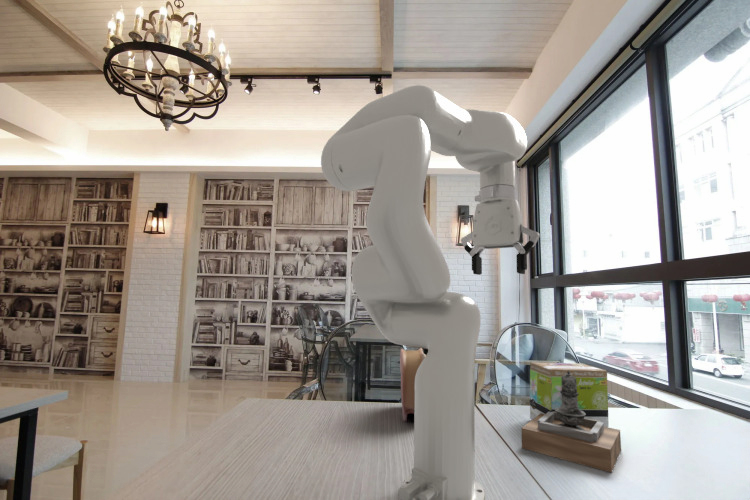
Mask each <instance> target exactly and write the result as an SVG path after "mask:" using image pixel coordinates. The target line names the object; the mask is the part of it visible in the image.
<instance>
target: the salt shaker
mask: <svg viewBox="0 0 750 500" xmlns="http://www.w3.org/2000/svg"><path fill="white" fill-rule="evenodd" d="M567 373H568V374H566V375H564V376H562V378H561V381H562V390H561V391H560V393H561V394H562V403H561V406H560V407H558V408H555V411H556V415H557V417H558V419H559V420H560V421H561V422H562V423H561V424H559V425H561V426H566V427H570V428H575V429H579V430H584V429H583V428H582V427H580V426H578V425H580V424H581V423H583V420H584V416H585V415H586V413H585V412H583V411H581V410H580V409H579V407H578V399H577V396H578V395H579V393H577V382H576V378H575V377H574V376H571V375H570V371H568V372H567ZM584 431H585V430H584Z"/></svg>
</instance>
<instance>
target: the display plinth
mask: <svg viewBox="0 0 750 500" xmlns="http://www.w3.org/2000/svg"><path fill="white" fill-rule="evenodd" d="M561 423H562V422H561V421H560V420H559V419H558V417H557V415H556V412H555V411H552V412H548V413H546V414H542V413H540V414H539V415H538V416H537V417H535V418H534V419H533V420H532V419H531V420H530V421H529V422H528V423H526V424H525V425H523V426H522V427H521V449H524V450H527V451H531V452H535V453H539V454H542V455H547V456H549V457H553V458H557V459H561V460H564V461H567V462H571V463H575V464H579V465H582V466H586V467H589V468H593V469H596V470H599V471H603V472H607V473H611V474H612V473H613V471H612V470H614V469H615V466H614V465H616V463H617V461H618V459H617V458H619V456H620V453H621V451H622V443H621V442H622V441H621V439H622V438H621V430H620V429H617V428H612V427H609V426H608V427H604V423H602V422H601V421H600V420H595V419H590V418H585V417H584V420H583V423H581V424H580V425H578V426H580V427H582V428H583V429H584V430H585V431H584V430H579V429H575V428H570V427H566V426H561V425H559V424H561Z"/></svg>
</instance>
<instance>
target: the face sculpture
mask: <svg viewBox="0 0 750 500" xmlns="http://www.w3.org/2000/svg"><path fill="white" fill-rule="evenodd" d="M426 355H427V354H425V353H424V348H420V347H419V348H418V349H417V350H405V349H404V348H401V349H400V353H399V371H400V397H401V401H400V402H401V408H402V409H401V410H402V411H401V412H402V421H403V422H404V421H405V423H406V422H408V419H407V418H408V416H409V415H412V414H413V415H414V410H415V376H416V372H417V370H418V367H419V366H420V364H421V363H422V361H423V360H424V358H425V357H426Z"/></svg>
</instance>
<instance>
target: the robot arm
mask: <svg viewBox="0 0 750 500" xmlns="http://www.w3.org/2000/svg"><path fill="white" fill-rule="evenodd" d="M527 146H528V140H527V135H526V133H525V130H524V128H523V127H522V126H521V124H520V123H519V122H518V121H517V120H516V119H515V118H514V117H512V116H511V115H509V114H508V113H505V112H500V111H493V110H491V111H490V110H480V109H467V108H466V109H464V108H461V107H460V106H458V105H456V104H455V103H454V102H452V101H450V100H449V99H447V98H446V97H445V96H443V95H441V94H440V93H439V92H437V91H435V90H434V89H432V88H431V87H428V86H425V85H420V84H417V85H410V86H408V87H404V88H402V89H399V90H396V91H394V92H392V93H390V94H387V95H384V96H382V97H380V98H377V99H375V100H371V101H370V102H369V103H367V104H365V105H364V106H363V107H361V108H360V109H359V110H358V111H357V112H356V113H355V114H354V115H353V116H352V117H351V118H350V119H348V121H346V123H345V124H344V125H342V127H340V128H339V129H338V130H336V132H335V133H334V134H332V135H331V137H330V138H329V139H328V140H327V141H326V143H325V145H324V147H323V149H322V151H321V156H320V158H321V159H320V166H321V171H322V174H323V176H324V178H325V180H326V181H327V182H328V184H330V185H331V186H332V187H333V188H335V189H337V190H339V191H342V192H343V191H344V192H354V191H359V190H360V191H361V190H364V189H370V188H372V187H373V190H372V194H371V198H370V201H369V205H368V208H367V212H366V216H365V217H366V219H365V220H366V221H365V225H366V230H367V231H366V232H367V235H368V237H369V239H370V241H371V243H372V245H369V246H366V247H364V248H363V249H361V250H360V251H359V252H358V253H357V254H356V255H355V257H354V259H353V262H352V266H351V280H352V285H353V289H354V292H355V294H356V296H357V298H358V299H359V301H360V302H361V304H362V306H363V308H364V309H365V310H366V312H367V314H368V315H369V316H370V319H372V322H373V323H374V324H375V327H377V329H378V330H379V332H380V334H381V335H383V337H384V338H385V339H386V340H388V342H390V343H393V344H395V345H401V346H405V347H414V348H419V349H420V348H422V349H425V350H428V351H427V353H426V354H425V355H426V357H425V358H424V360H423V361H422V363H421V364H420V366H419V367H418V370H417V372H416V376H415V410H414V413H413V415H414V417H413V418H414V419H413V421H414V423H413V430H414V431H413V468H411V473H410V474H408V476H407V477H405V478H404V481H403V486H401V487H400V488H398V490H397V491H398V492H397V496H398V498H399V500H486V491H485V488H484V487H483V486H482V485H481V483H479V482H478V481H477V480H476V477H475V475H476V474H475V473H476V470H475V469H476V463H475V460H476V459H475V457H476V456H475V452H476V450H475V448H476V446H475V445H476V444H475V442H476V441H475V439H476V438H475V437H476V435H475V433H476V432H475V430H476V429H475V421H476V420H475V416H476V415H475V406H476V405H475V373H476V372H475V369H476V355H477V349H478V342H479V341H478V340H479V335H480V330H481V329H480V328H481V313H480V308H479V306H478V305H477V303H476V302H475V301H474V299H473V298H471V297H469V296H468V295H466V294H463V293H459V292H458V293H457V292H452V291H449V289H450V285H451V273H450V269H449V267H448V264H447V261H446V259H445V257H444V254H443V252H442V250H441V248H440V246H439V243H438V241H437V239H436V236H435V235H434V232H433V230H432V228H431V225H430V223H429V221H428V219H427V216H426V214H425V213H426V212H425V208H424V207H425V206H424V194H425V187H426V180H427V179H426V178H427V173H428V170H429V165H430V160H431V156H432V155H431V153H432V152H434V153H436V154H438V155H441V156H445V157H455V160H456V161H457V162H458V164H459V165H460V166H461V167H462V168H464V169H466V170H469V171H473V172H477V173H479V189H480V190H479V193H478V195H475V196H474V201H475V202H479V203H477V204H476V205H475V210H474V214H473V215H474V217H473V224H472V231H471V232H469V233H468V234H466V235H465V236H464V237H462V238H461V239H460V241H461V244H462V246H463V248H464V250H465V251H466V252H467V253H468V254H469V256H470V257H471V271H472V272H473V274H474V275H477V276H478V275H482V273H483V272H482V271H483V267H482V266H483V263H482V260H483V259H482V256H481V254H483V252H484V250H485V249H487V250H490V249H491V250H492V249H507V248H509V249H510V248H514V249H516V250H517V252H518V253H517V254H516V273H517V274H520V275H525V274H526V271H527V269H528V256H529V254H530V252H531V251H532V250H533V249H534V248H535V247H536V244H537V242H538V241H539V239H540V236H541V233H539V232H537V231H535V230H532V229H530V228H528V227H526V226H524V225H523V217H522V211H521V208H520V203H519V201H518V200H517V199H516V161H518V160H520V159H521V158H522V157H523V156H524V155H525V154H526V150H527ZM524 235H527V236H529V241H527V242H526V243H525V244H524ZM471 241H472V245H473V246H474V247H473V246H472V245H471V243H470V242H471Z"/></svg>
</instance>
